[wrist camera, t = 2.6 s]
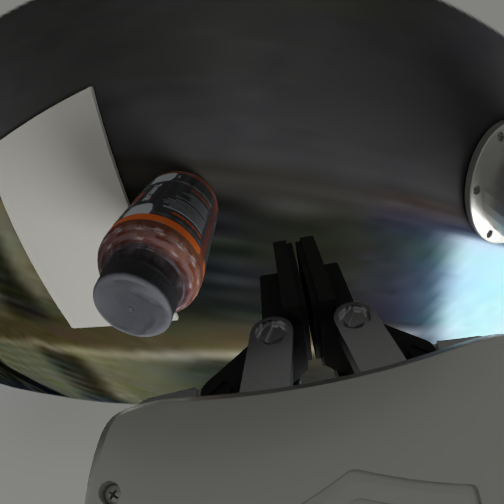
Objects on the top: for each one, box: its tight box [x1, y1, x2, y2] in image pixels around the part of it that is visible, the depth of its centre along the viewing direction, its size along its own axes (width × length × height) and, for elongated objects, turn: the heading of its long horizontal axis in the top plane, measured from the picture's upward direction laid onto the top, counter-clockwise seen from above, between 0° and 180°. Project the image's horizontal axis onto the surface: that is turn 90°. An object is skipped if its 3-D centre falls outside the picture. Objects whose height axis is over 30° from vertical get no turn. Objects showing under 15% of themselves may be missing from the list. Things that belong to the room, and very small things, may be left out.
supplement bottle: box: [93, 171, 218, 337], centre depth 17 cm, size 6×6×11 cm
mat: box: [0, 86, 178, 328], centre depth 23 cm, size 14×22×1 cm, turn 11°
